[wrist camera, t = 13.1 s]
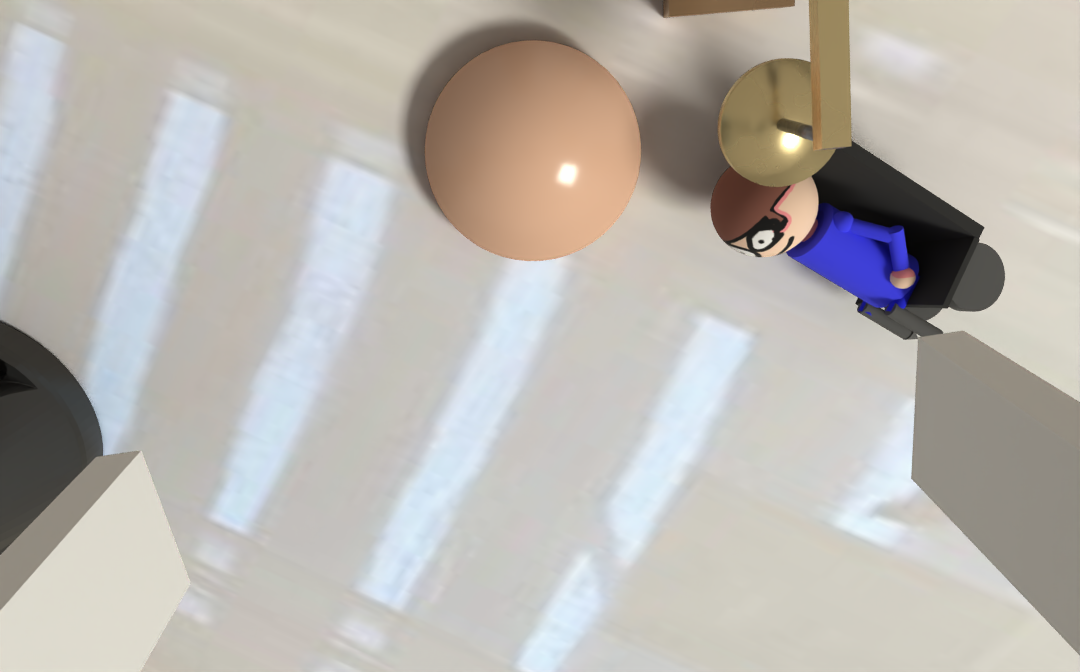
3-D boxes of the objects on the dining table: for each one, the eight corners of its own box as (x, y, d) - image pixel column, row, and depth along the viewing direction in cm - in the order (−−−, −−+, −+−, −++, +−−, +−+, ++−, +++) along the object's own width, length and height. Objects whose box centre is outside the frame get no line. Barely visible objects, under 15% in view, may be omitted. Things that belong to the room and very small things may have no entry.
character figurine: (887, 333, 45) (678, 201, 42) (977, 231, 42) (761, 82, 39) (951, 398, 38) (705, 245, 34) (1065, 280, 35) (809, 103, 32)
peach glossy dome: (441, 263, 42) (439, 269, 41) (413, 50, 38) (410, 50, 37) (640, 246, 42) (644, 251, 41) (633, 31, 38) (637, 30, 37)
